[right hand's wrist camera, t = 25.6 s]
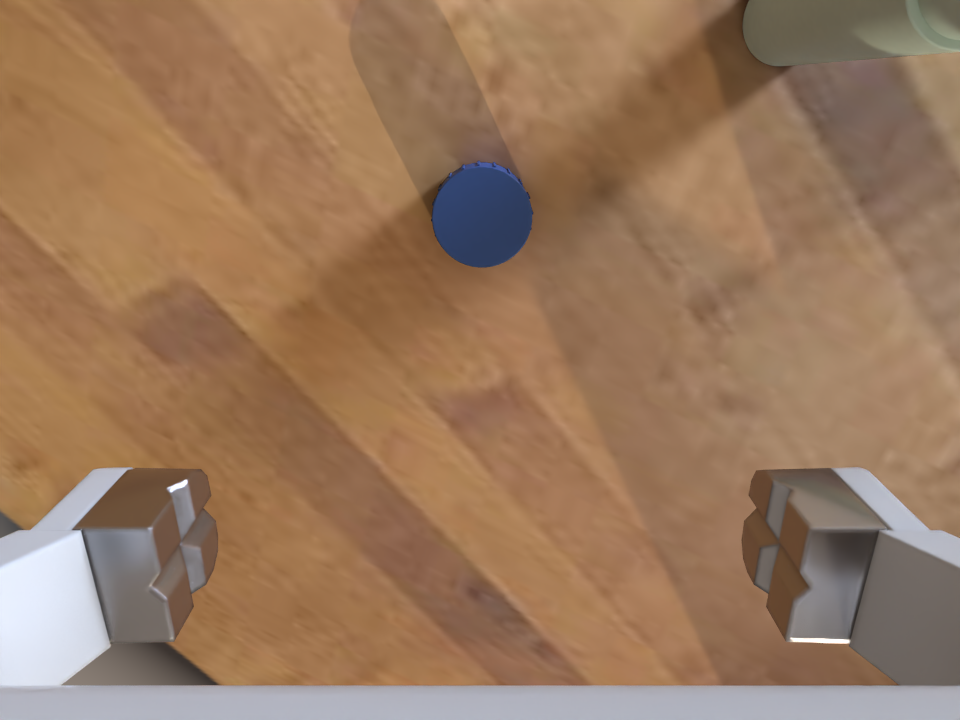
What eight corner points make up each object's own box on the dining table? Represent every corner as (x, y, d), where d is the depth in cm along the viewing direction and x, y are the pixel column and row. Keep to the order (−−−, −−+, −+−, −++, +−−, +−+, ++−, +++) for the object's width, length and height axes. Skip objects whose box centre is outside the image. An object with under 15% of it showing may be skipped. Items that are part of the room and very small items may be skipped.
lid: (477, 139, 34) (477, 142, 32) (550, 206, 35) (554, 213, 33) (414, 215, 35) (409, 223, 33) (486, 277, 37) (486, 288, 35)
